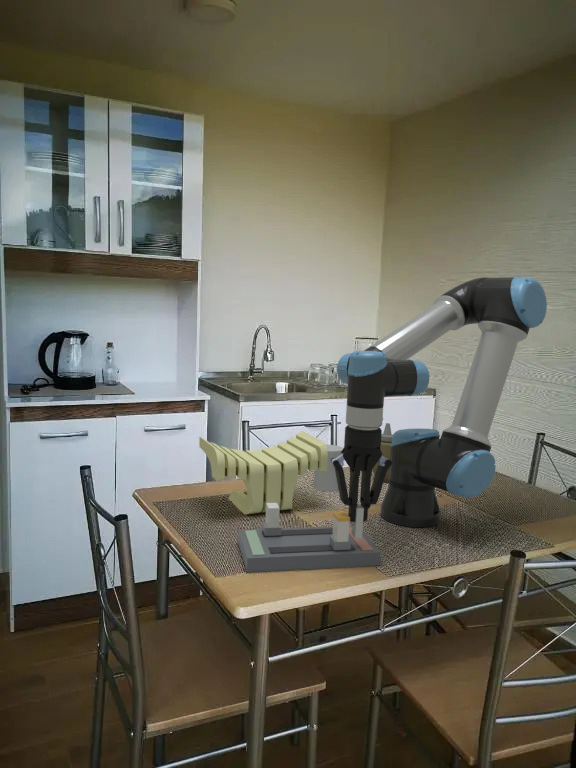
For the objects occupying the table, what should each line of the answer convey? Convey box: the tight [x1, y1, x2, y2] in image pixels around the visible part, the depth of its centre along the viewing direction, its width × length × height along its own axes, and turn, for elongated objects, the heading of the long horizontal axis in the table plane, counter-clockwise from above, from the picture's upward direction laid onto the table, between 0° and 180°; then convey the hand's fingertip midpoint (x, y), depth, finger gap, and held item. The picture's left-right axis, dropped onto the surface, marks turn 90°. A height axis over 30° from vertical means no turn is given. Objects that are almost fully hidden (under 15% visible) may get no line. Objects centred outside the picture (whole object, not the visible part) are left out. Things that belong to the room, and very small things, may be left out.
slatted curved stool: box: [198, 430, 328, 515], centre depth 158 cm, size 30×16×18 cm, turn 114°
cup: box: [313, 444, 344, 493], centre depth 177 cm, size 8×8×12 cm
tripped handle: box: [329, 510, 351, 550], centre depth 126 cm, size 4×4×7 cm
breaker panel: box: [237, 503, 382, 573], centre depth 129 cm, size 28×15×10 cm, turn 101°
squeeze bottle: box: [372, 422, 393, 483], centre depth 186 cm, size 8×8×18 cm
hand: (356, 535), depth 126 cm, fingers closed
